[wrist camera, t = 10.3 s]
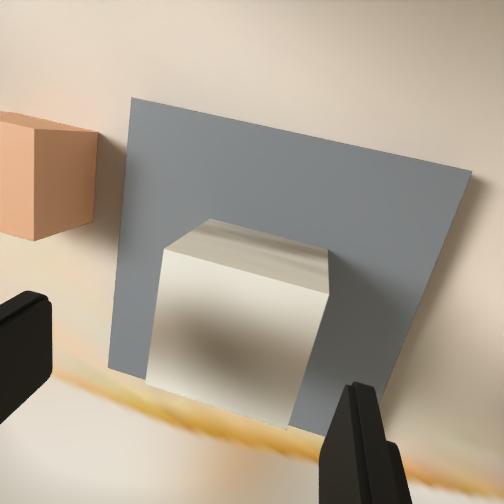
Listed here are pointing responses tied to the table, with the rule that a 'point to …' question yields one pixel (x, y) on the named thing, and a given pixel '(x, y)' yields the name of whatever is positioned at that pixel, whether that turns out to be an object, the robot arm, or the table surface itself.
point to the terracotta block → (45, 176)
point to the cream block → (237, 319)
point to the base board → (285, 234)
